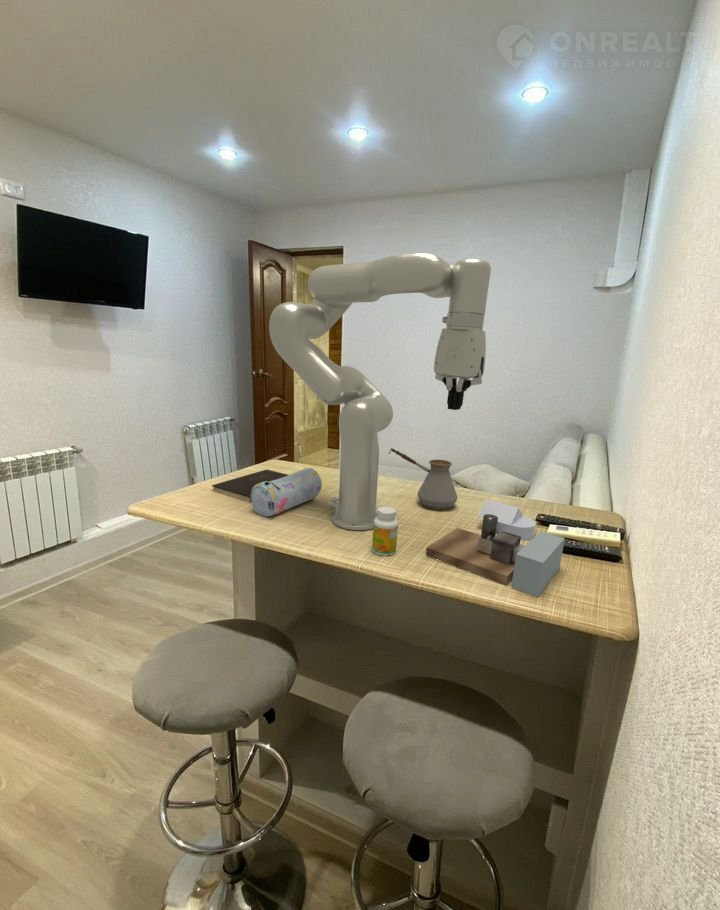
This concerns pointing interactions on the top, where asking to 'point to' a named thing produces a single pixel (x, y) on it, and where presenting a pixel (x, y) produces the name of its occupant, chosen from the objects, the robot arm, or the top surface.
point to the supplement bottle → (385, 532)
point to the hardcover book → (246, 484)
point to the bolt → (492, 536)
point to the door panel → (477, 554)
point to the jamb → (537, 563)
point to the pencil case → (285, 492)
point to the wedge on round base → (509, 519)
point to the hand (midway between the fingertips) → (454, 408)
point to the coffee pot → (435, 484)
